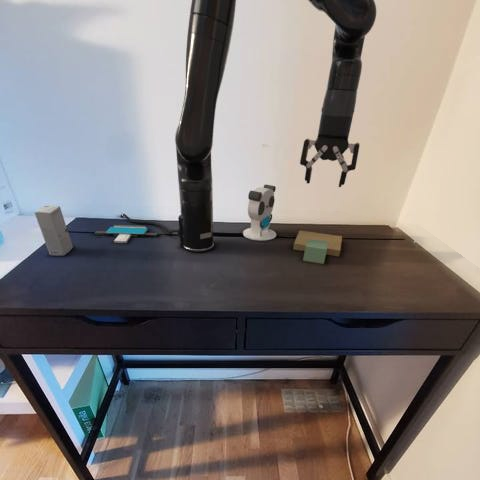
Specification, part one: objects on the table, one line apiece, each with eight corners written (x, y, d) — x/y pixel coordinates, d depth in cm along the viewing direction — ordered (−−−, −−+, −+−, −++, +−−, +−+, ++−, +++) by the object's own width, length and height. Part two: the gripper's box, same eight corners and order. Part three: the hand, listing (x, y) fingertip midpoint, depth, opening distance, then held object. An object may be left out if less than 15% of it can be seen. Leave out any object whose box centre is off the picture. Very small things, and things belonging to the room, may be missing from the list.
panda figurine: (265, 244, 100) (270, 195, 91) (235, 236, 104) (237, 188, 95) (281, 233, 108) (287, 187, 99) (253, 225, 113) (256, 181, 104)
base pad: (293, 249, 97) (293, 243, 96) (298, 236, 106) (299, 230, 105) (338, 256, 94) (340, 250, 93) (340, 242, 103) (342, 236, 102)
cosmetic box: (65, 256, 88) (51, 212, 80) (48, 255, 87) (33, 212, 80) (73, 247, 93) (61, 205, 85) (58, 247, 92) (44, 205, 85)
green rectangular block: (303, 260, 91) (305, 246, 88) (307, 248, 98) (309, 234, 96) (323, 264, 90) (326, 249, 87) (326, 251, 97) (329, 237, 94)
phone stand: (87, 242, 96) (86, 236, 95) (101, 228, 105) (100, 223, 104) (152, 244, 96) (152, 239, 95) (160, 230, 106) (160, 225, 105)
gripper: (367, 114, 76) (351, 184, 86) (309, 111, 80) (300, 178, 89) (368, 116, 71) (350, 191, 80) (305, 112, 74) (295, 184, 84)
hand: (323, 184), depth 85 cm, fingers open, 8 cm apart
